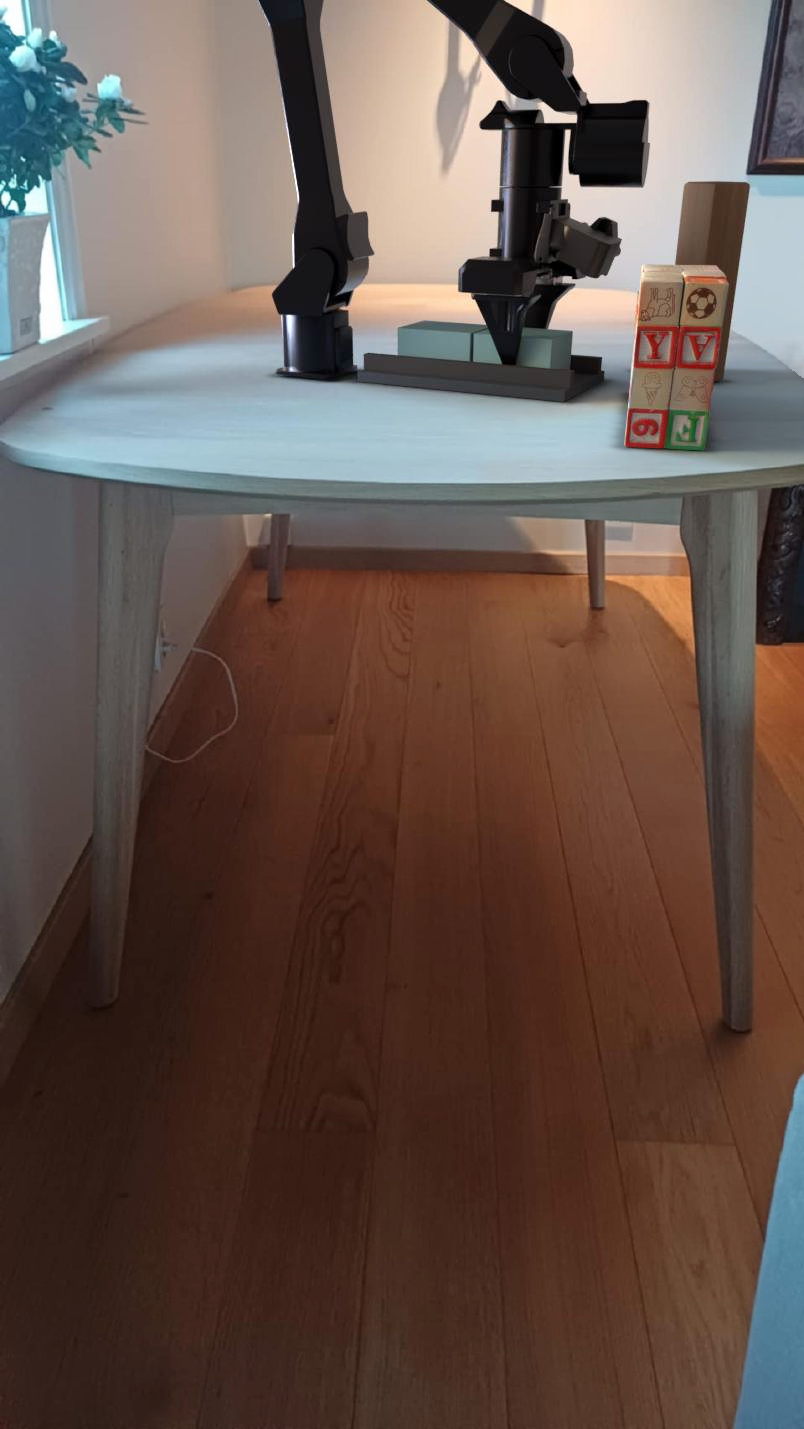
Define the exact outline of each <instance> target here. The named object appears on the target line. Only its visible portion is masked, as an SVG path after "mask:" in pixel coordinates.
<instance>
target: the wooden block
mask: <svg viewBox="0 0 804 1429" xmlns="http://www.w3.org/2000/svg"><path fill="white" fill-rule="evenodd" d="M750 190H751V185H750V183H748V182H747V181H725V180H724V181H722V180H718V181H717V180H716V181H715V180H713V181H711V180H710V181H688V182H685V183H684V185H683V190H682V198H681V199H682V200H681V208H680V216H679V227H678V235H677V243H676V244H677V245H676V251H675V252H676V254H675V260H674V265H716V266H717V267H718V268H719V270H721V271H722V272H723V273H724V274H725V276H726V280H727V282H728V283H729V287H728V294H727V300H726V306H725V312H724V318H723V324H722V333H721V342H720V348H719V355H718V362H717V368H716V369H715V375H714V382H720V381H723V379H724V376H725V369H726V363H727V356H728V355H727V354H728V348H729V340H730V335H731V334H730V332H731V327H732V326H731V325H732V319H733V313H734V305H735V297H736V290H737V283H738V277H739V276H738V275H739V269H740V261H741V253H742V248H743V240H744V233H745V226H746V220H747V211H748V204H749V198H750Z"/></svg>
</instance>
